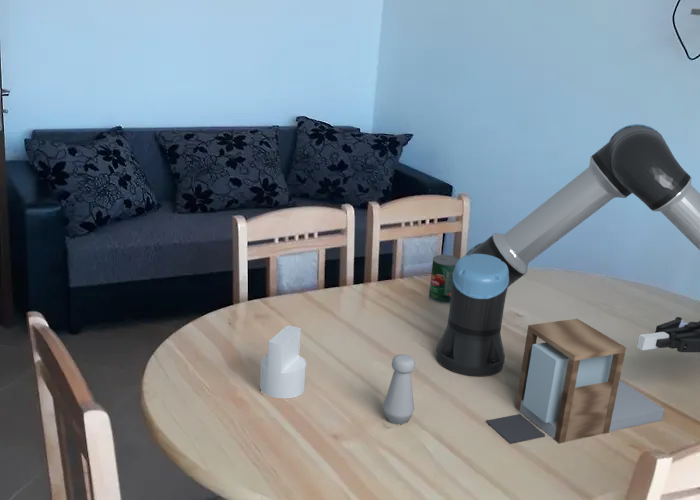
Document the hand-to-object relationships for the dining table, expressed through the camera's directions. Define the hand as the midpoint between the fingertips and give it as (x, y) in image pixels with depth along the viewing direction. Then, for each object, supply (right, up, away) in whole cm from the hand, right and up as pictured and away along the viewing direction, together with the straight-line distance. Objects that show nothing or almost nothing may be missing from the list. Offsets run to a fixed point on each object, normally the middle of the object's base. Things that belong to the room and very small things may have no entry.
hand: (641, 342), depth 154 cm
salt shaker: (-49, -14, -6) cm, 51 cm away
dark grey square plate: (-26, -16, -7) cm, 31 cm away
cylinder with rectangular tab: (-71, -10, +2) cm, 72 cm away
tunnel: (-16, -15, -2) cm, 22 cm away
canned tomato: (-33, +5, +55) cm, 64 cm away
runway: (-10, -14, +1) cm, 18 cm away
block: (-16, -12, -3) cm, 21 cm away
